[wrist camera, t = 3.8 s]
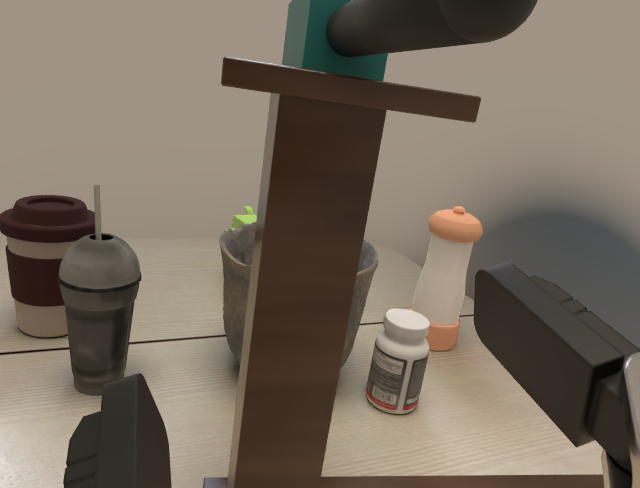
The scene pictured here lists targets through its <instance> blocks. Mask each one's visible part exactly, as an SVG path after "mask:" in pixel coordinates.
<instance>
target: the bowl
mask: <svg viewBox="0 0 640 488" xmlns="http://www.w3.org/2000/svg"><path fill="white" fill-rule="evenodd" d="M255 230H256V222H252V223H251V224H246V225H240V226H239V227H238V228H235V229H234V231H233V230H232V229H229V230H228V231H224V232H223V234H222V235H221V237H220V248H221V254H222V261H223V271H224V293H223V295H224V307H223V311H224V314H223V319H224V329H225V334H226V337H227V341H228V345H229V347H230V349H231V351H232V353H233V354H234V356H235V358H236V360H237V361H238V363H239V364H241V355H242V346H243V337H244V328H245V319H246V310H247V301H248V292H249V283H250V274H251V265H252V256H253V248H254V239H255ZM377 258H378V255H377V252H376V251H375V250H374V247H373V246H372V245H371V244H369V243H368V242H366V241H364V240H363V244H362V250H361V255H360V261H359V266H358V272H357V277H356V283H355V288H354V294H353V300H352V305H351V311H350V316H349V322H348V327H347V333H346V338H345V344H344V350H343V355H342V361H341V366H340V369H341V367H342V366H343V365H344V363H345V362H346V360H347V358H348V356H349V354H350V352H351V350H352V347H353V344H354V340H355V337H356V334H357V331H358V328H359V324H360V321H361V317H362V314H363V311H364V307H365V303H366V298H367V294H368V291H369V288H370V284H371V280H372V277H373V274H374V272H375V270H376V268H377V266H378V259H377Z"/></svg>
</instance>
